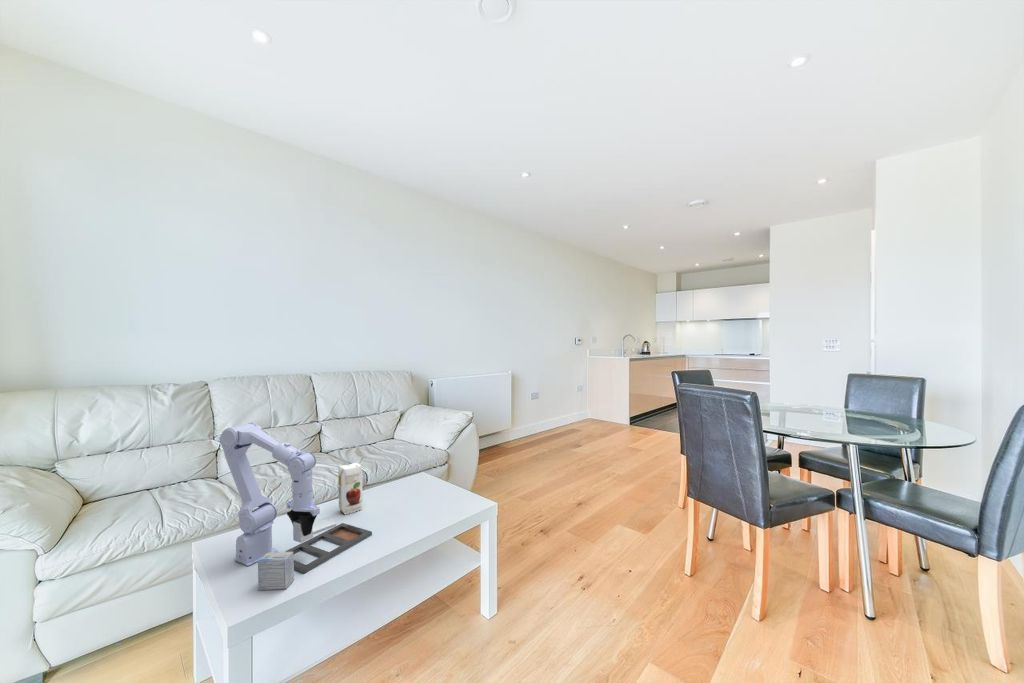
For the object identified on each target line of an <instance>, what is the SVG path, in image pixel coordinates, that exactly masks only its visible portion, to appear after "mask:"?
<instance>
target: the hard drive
mask: <svg viewBox="0 0 1024 683" xmlns="http://www.w3.org/2000/svg"><path fill="white" fill-rule="evenodd" d="M335 526H337V523H336V522H335V521H333V520H332V519H330V517H325V518H322V519H320V520H317V521H314V523H313V535H316V534H318V533H319V534H320V533H322V532H325V531H327V530H329V529H331V528H333V527H335Z"/></svg>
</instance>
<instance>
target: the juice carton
mask: <svg viewBox="0 0 1024 683" xmlns="http://www.w3.org/2000/svg"><path fill="white" fill-rule="evenodd" d="M337 475H338V476H337V477H338V479H337V480H338V482H337V483H338V507H339V509H340V512H341V511H342V512H343V513H344V514H345V515H344V514H343V513H342V512H341V513H342V514H343V515H344V516H346V514H347V515H350V514H352V512H353V513H357V512H360V511H362V509H363V503H364V502H363V501H364V500H363V494H364V493H363V469H362V465H361V464H360V463H358V462H353V463H349V464H344V465H343V464H342V465H339V467H338V474H337ZM359 510H360V511H359ZM356 511H357V512H356ZM349 513H350V514H349Z"/></svg>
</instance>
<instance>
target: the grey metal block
mask: <svg viewBox="0 0 1024 683" xmlns="http://www.w3.org/2000/svg"><path fill="white" fill-rule="evenodd" d="M292 529H293V530H292V531H293V532H292V534H293V535H292V536H293V537H292V538H293V539H292V540H293V541H295V542H298V543H299V544H301V543H303V542H305V541H307V540H309V539H311V538H313V537H314V534H313V527H312V531H311V534H309V535H307V536H304V535H303V529H302V523H301V521H300V519H298V520H296V521H293V524H292Z"/></svg>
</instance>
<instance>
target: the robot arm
mask: <svg viewBox="0 0 1024 683" xmlns="http://www.w3.org/2000/svg"><path fill="white" fill-rule="evenodd" d="M218 440H219V443H220V445H221V448H222V451H223V453H224V457H225V461H226V463H227V466H228V468H229V470H230V473H231V476H232V478H233V481H234V483H235V486H236V489H237V491H238V494H239V497H240V499H241V502H242V504H243V505H242V506H241V508H240V509H239V511H238V513H237V515H238V521H239V522H238V523H239V525H238V526H239V528H240V530H241V531H242V532H243V533H242V534H240V535H238V536H237V538H236V541H235V558H234V561H236V562H238V563H240V564H242V565H245V566H247V567H248V566H252V565H253V564H256V563H258V561H259V560H260V559H261V558H262V557H263V556H264V555H265V554H267V553H272V552H279V550H278V549H277V548H274V547H273V527H272V526H273V524H274V520H275V519H276V518H277V516H278V508H277V506H276V505H275V504H274V503H273V502H272V499H271V498H270V497H267V496H264V495H262V492H261V489H260V487H259V484H258V482H257V479H256V477H255V474H254V471H253V469H252V466H251V464H250V461H249V459H248V455H247V452H248V450H249V448H250V447H251V446H252V445H253V444H254V445H256V446H258V447H259V448H262V449H264V450H266V451H268V452H270V453H271V456H272V458H273V459H274V460H276V461H277V462H279V463H281V464H283V465H284V466H286V468H287V471H288V473H289V474H290V479H291V482H292V484H291V485H292V487H291V488H292V489H291V490H292V493H291V494H292V499H291V500H288V501H286V509H290V511H287V513H286V515H287V516H288V518H289V520H290V522H291V524H292V525H293V521H296V520H298V519H300V521H301V523H302V529H303V535H304V536H307V535H309V534H311V531H312V527H313V523H314V522H316V521H315V520H316V518H317V516H318V515H320V514H321V513H320V511H321V510H320V509H321V508H320V507H318V506H317V505H316V500H314V499H313V468H315V466H316V464H317V458H316V456H315V455H314V454H313V453H312V452H311V451H306V452H305V451H302V449H301V450H300V449H298V448H296V447H294V446H292V444H291V443H290V442H281V443H280V442H278V441H277V440H275V439H274V438H273V437H272V436H270V435H269V434H267V433H266V432H265V431H264V430H263V429H262V426H260V425H258V424H257V423H255V422H248V423H245V424H242V425H241V424H240V425H237V426H233V427H227V428H225V429H223V431H222V432H221V434H220V436H219V438H218Z"/></svg>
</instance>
